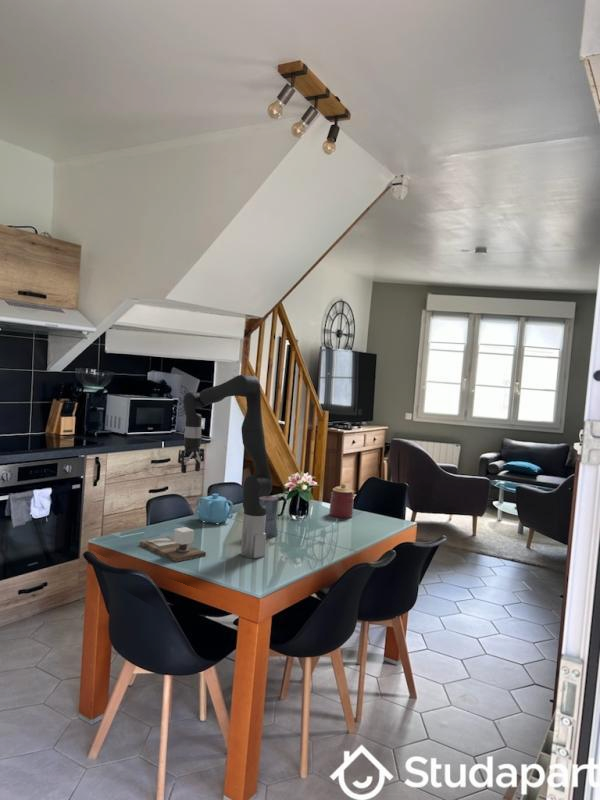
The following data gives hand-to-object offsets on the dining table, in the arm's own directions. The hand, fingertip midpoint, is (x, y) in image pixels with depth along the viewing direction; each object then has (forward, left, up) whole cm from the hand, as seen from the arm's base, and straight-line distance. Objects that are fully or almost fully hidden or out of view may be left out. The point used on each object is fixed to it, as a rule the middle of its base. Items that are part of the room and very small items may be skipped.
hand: (190, 472), depth 275 cm
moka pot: (-23, -30, -28) cm, 47 cm away
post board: (-19, +21, -28) cm, 39 cm away
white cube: (-26, +21, -22) cm, 40 cm away
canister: (-16, -92, -28) cm, 97 cm away
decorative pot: (+9, -23, -28) cm, 37 cm away
